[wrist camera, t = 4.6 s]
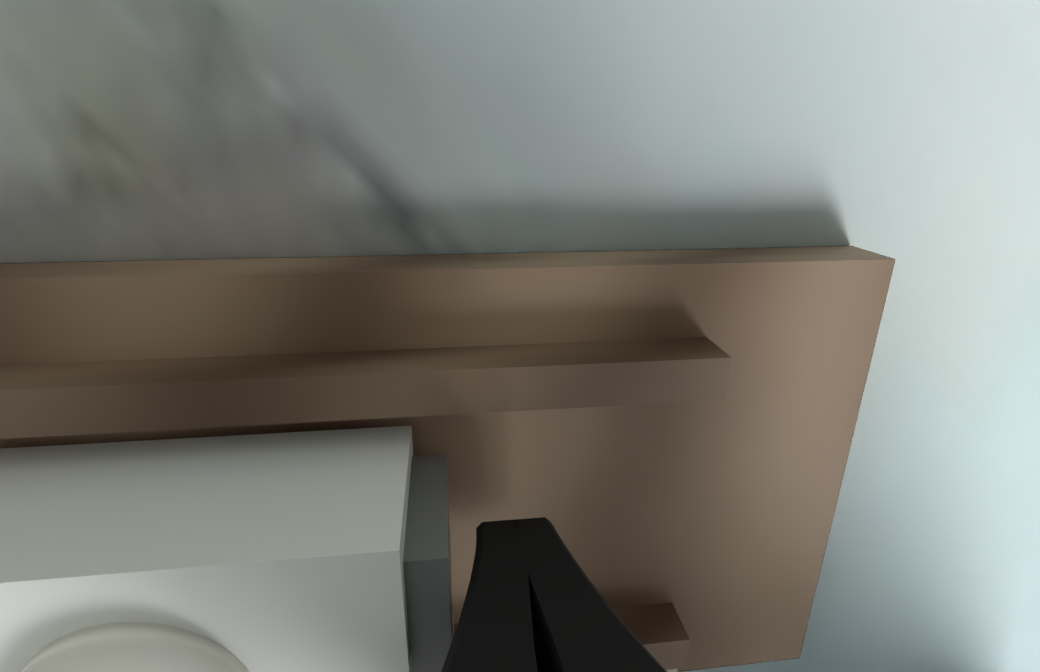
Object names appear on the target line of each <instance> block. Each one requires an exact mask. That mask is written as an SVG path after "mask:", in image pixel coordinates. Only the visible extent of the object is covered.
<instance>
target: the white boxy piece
mask: <svg viewBox="0 0 1040 672" xmlns="http://www.w3.org/2000/svg"><path fill="white" fill-rule="evenodd" d="M453 637H454V624H453V595H452V572H451V549H450V526H449V503H448V480H447V457H446V454H444V455H428V456H413V442H412V427H411V426H394V427H377V428H359V429H341V430H323V431H305V432H287V433H269V434H252V435H234V436H216V437H198V438H180V439H162V440H144V441H127V442H109V443H91V444H73V445H55V446H37V447H19V448H2V449H0V672H441V671H442V668H443V665H444V662H445V660H446V657H447V654H448V651H449V648H450V645H451V643H452V640H453Z"/></svg>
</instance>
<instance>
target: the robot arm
mask: <svg viewBox="0 0 1040 672" xmlns="http://www.w3.org/2000/svg"><path fill="white" fill-rule="evenodd" d="M441 672H667V671H666V670H665V669H664V668H663V667H662V665H661V664H660V663H659V662H658V661H657V660H656V659H655V658H654V657H653V656H652V655H651V654H650V652H649V651H648V650H647V649H646V648H645V647H644V646H643V645H642V643H641V642H640V641H639V640H638V639H637V638H636V637H635V636H634V634H633V633H632V632H631V631H630V630H629V629H628V627H627V626H626V625H625V624H624V623H623V621H622V620H621V619H620V618H619V617H618V615H617V614H616V613H615V612H614V611H613V609H612V608H611V607H610V605H609V604H608V603H607V602H606V600H605V599H604V598H603V597H602V595H601V594H600V593H599V591H598V590H597V589H596V588H595V586H594V585H593V584H592V582H591V581H590V580H589V578H588V577H587V576H586V574H585V573H584V572H583V570H582V569H581V567H580V566H579V564H578V563H577V562H576V560H575V559H574V557H573V556H572V554H571V553H570V552H569V550H568V549H567V547H566V546H565V544H564V542H563V541H562V539H561V538H560V536H559V535H558V533H557V531H556V530H555V528H554V526H553V525H552V523H551V522H550V521H549V520H548V519H547V518H546V517H541V518H528V519H514V520H501V521H488V522H482V523H481V524H480V525H479V526H478V527H476V550H475V557H474V563H473V568H472V573H471V578H470V583H469V586H468V590H467V594H466V597H465V601H464V605H463V608H462V612H461V615H460V619H459V622H458V625H457V628H456V631H455V634H454V637H453V640H452V643H451V645H450V648H449V651H448V654H447V657H446V660H445V662H444V665H443V668H442V671H441Z"/></svg>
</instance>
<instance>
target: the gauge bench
mask: <svg viewBox="0 0 1040 672" xmlns="http://www.w3.org/2000/svg"><path fill="white" fill-rule="evenodd" d="M894 263H895V259H893V258H890V257H886V256H883V255H880V254H876V253H873V252H870V251H867V250H863V249H860V248H857V247H854V246H833V247H784V248H735V249H686V250H636V251H587V252H538V253H489V254H440V255H391V256H341V257H292V258H243V259H194V260H145V261H96V262H47V263H0V449H2V448H19V447H37V446H55V445H73V444H91V443H109V442H127V441H144V440H162V439H180V438H198V437H216V436H234V435H252V434H269V433H287V432H305V431H323V430H341V429H359V428H377V427H394V426H411V427H412V442H413V456H428V455H444V454H446V457H447V480H448V503H449V526H450V549H451V572H452V595H453V624H454V634H455V631H456V628H457V625H458V622H459V619H460V615H461V612H462V608H463V605H464V601H465V597H466V594H467V590H468V586H469V583H470V578H471V573H472V568H473V563H474V557H475V550H476V527H478V526H479V525H480V524H481V523H482V522H488V521H501V520H514V519H528V518H541V517H546V518H547V519H548V520H549V521H550V522H551V523H552V525H553V526H554V528H555V530H556V531H557V533H558V535H559V536H560V538H561V539H562V541H563V542H564V544H565V546H566V547H567V549H568V550H569V552H570V553H571V554H572V556H573V557H574V559H575V560H576V562H577V563H578V564H579V566H580V567H581V569H582V570H583V572H584V573H585V574H586V576H587V577H588V578H589V580H590V581H591V582H592V584H593V585H594V586H595V588H596V589H597V590H598V591H599V593H600V594H601V595H602V597H603V598H604V599H605V600H606V602H607V603H608V604H609V605H610V607H611V608H612V609H613V611H614V612H615V613H616V614H617V615H618V617H619V618H620V619H621V620H622V621H623V623H624V624H625V625H626V626H627V627H628V629H629V630H630V631H631V632H632V633H633V634H634V636H635V637H636V638H637V639H638V640H639V641H640V642H641V643H642V645H643V646H644V647H645V648H646V649H647V650H648V651H649V652H650V654H651V655H652V656H653V657H654V658H655V659H656V660H657V661H658V662H659V663H660V664H661V665H662V667H663V668H664V669H665V670H666V671H667V672H682V671H690V670H699V669H708V668H717V667H725V666H734V665H743V664H752V663H761V662H769V661H778V660H787V659H796V658H799V657H800V653H801V649H802V645H803V641H804V637H805V633H806V628H807V624H808V620H809V616H810V612H811V608H812V603H813V599H814V595H815V591H816V587H817V583H818V579H819V574H820V570H821V566H822V562H823V558H824V554H825V549H826V545H827V541H828V537H829V533H830V529H831V525H832V520H833V516H834V512H835V508H836V504H837V500H838V495H839V491H840V487H841V483H842V479H843V475H844V471H845V466H846V462H847V458H848V454H849V450H850V446H851V441H852V437H853V433H854V429H855V425H856V421H857V417H858V412H859V408H860V404H861V400H862V396H863V392H864V387H865V383H866V379H867V375H868V371H869V367H870V363H871V358H872V354H873V350H874V346H875V342H876V338H877V333H878V329H879V325H880V321H881V317H882V313H883V309H884V304H885V300H886V296H887V292H888V288H889V284H890V279H891V275H892V271H893V267H894Z"/></svg>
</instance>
